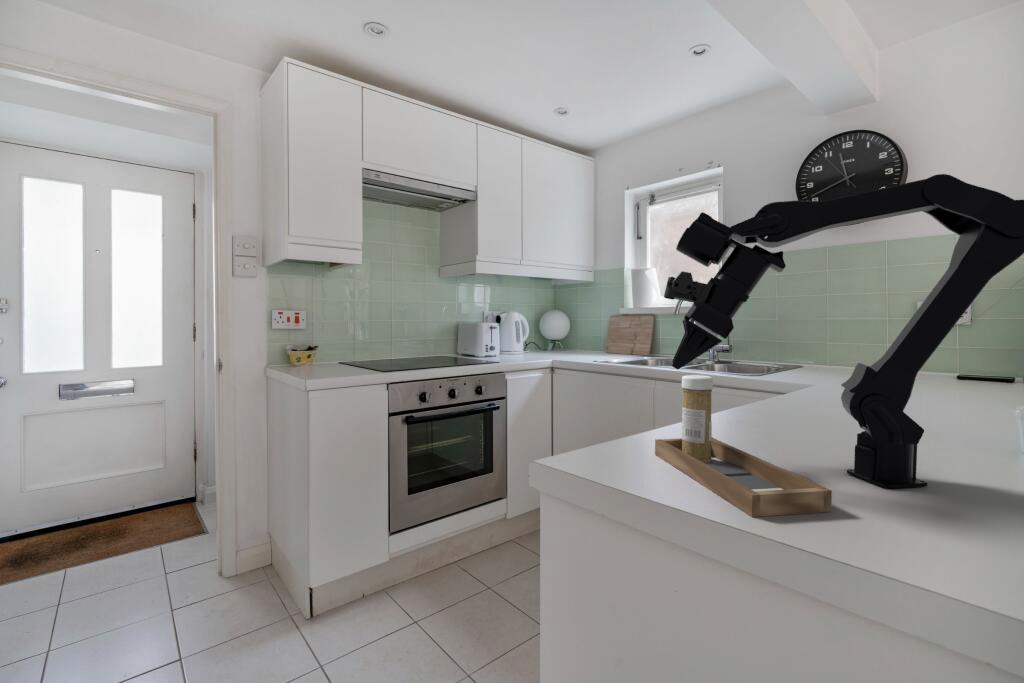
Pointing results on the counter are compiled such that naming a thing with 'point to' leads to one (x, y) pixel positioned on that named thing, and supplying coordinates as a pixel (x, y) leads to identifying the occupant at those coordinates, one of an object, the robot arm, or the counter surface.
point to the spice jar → (697, 416)
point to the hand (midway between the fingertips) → (674, 365)
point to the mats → (741, 476)
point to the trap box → (790, 500)
